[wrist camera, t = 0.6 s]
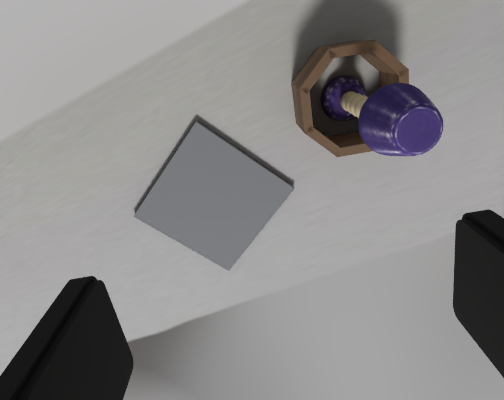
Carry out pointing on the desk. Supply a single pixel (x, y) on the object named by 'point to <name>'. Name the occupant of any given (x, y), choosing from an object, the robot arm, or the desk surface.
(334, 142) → the holder ring
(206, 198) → the mat
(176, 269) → the desk surface
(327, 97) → the toy lamp
